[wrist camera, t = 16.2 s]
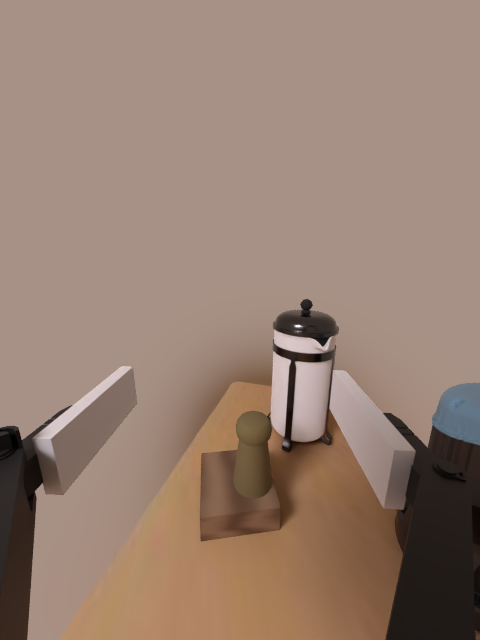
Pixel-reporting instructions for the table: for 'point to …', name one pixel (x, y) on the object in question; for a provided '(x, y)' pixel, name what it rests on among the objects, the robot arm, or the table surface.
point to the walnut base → (232, 502)
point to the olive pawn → (253, 455)
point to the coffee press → (302, 374)
